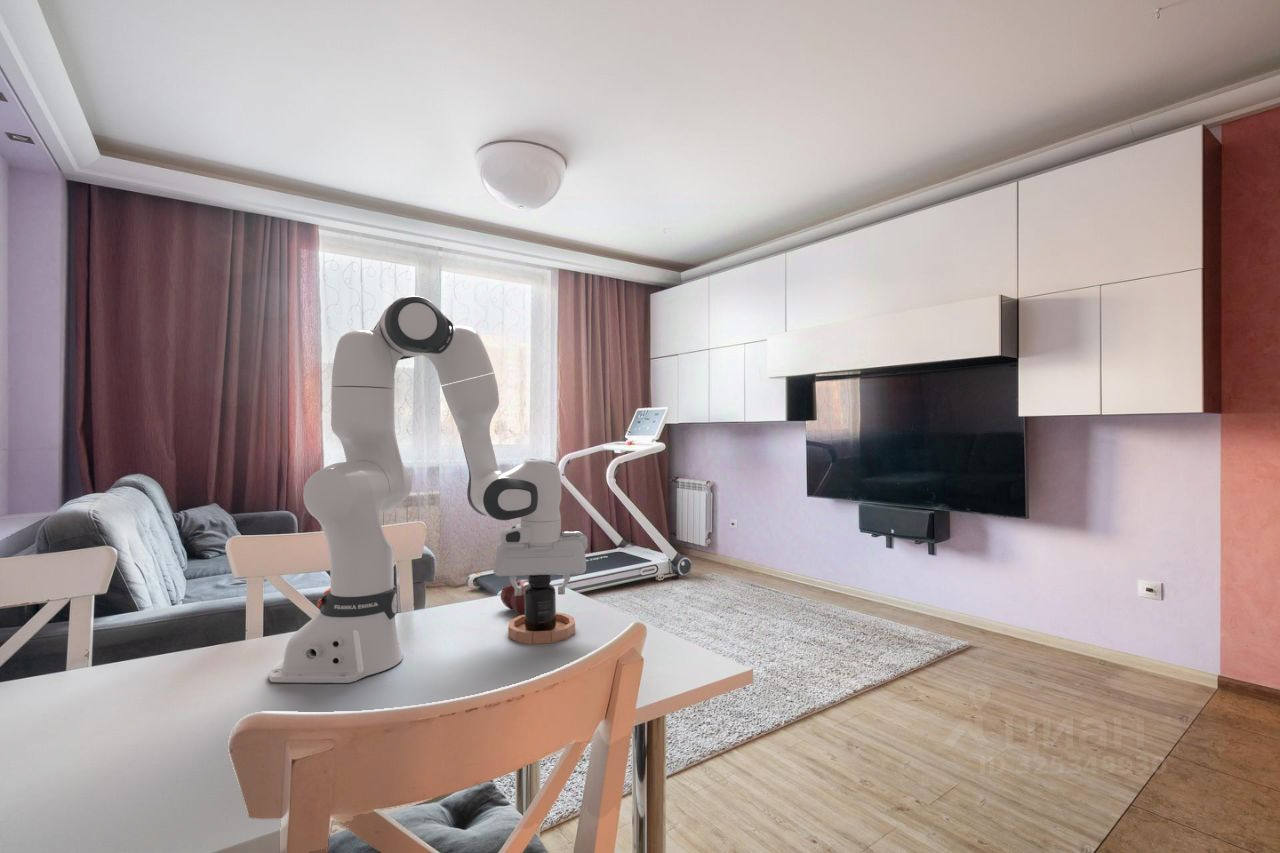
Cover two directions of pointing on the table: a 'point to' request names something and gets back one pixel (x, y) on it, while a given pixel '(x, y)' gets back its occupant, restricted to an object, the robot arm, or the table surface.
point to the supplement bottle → (540, 604)
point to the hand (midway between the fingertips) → (539, 594)
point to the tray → (560, 632)
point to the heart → (512, 600)
